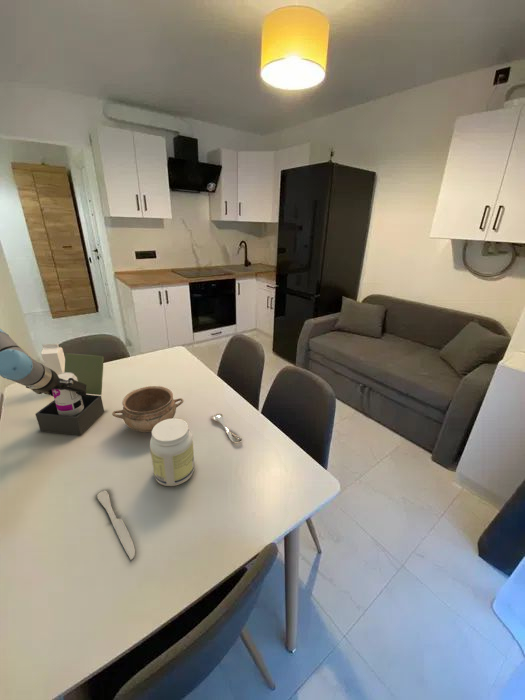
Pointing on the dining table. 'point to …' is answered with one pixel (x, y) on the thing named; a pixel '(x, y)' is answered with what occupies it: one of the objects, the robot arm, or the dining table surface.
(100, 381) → the bin lid
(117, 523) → the butter knife
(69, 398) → the supplement can
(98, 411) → the bin
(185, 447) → the supplement tub
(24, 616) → the dining table surface
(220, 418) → the silver spoon
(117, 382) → the dining table surface
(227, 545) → the dining table surface
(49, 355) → the milk
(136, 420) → the cooking pot
